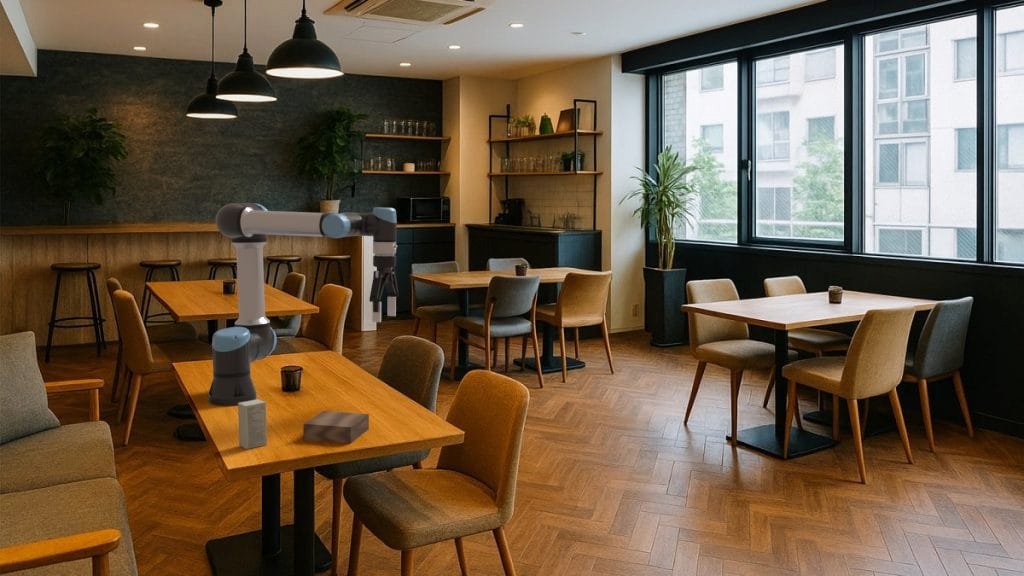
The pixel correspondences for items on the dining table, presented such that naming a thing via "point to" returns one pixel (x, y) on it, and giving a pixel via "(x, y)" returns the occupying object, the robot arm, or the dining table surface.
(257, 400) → the skincare box
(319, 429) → the plate
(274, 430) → the dining table surface
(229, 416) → the dining table surface
